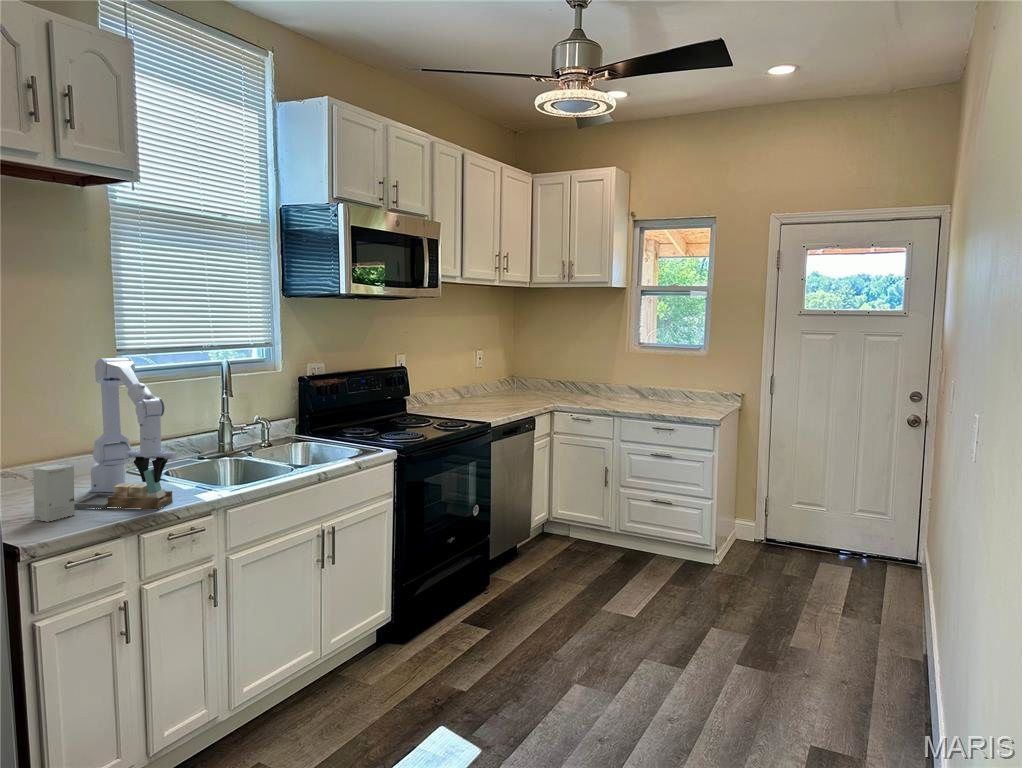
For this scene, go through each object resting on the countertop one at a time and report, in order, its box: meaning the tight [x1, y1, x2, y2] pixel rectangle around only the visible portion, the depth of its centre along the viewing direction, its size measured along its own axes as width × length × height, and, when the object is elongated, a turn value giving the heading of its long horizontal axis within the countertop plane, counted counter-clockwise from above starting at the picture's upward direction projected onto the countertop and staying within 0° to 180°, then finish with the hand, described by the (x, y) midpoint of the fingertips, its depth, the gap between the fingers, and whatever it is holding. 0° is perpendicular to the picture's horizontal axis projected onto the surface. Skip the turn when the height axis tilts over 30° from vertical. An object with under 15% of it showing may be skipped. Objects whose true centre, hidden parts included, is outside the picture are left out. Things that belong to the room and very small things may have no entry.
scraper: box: [144, 468, 166, 498], centre depth 211 cm, size 3×5×9 cm, turn 0°
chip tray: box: [74, 492, 114, 510], centre depth 211 cm, size 10×12×2 cm
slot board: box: [108, 490, 173, 510], centre depth 211 cm, size 15×9×4 cm, turn 90°
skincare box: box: [32, 463, 76, 523], centre depth 196 cm, size 8×6×15 cm
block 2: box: [129, 483, 149, 497], centre depth 211 cm, size 4×4×4 cm
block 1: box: [113, 483, 135, 497], centre depth 211 cm, size 4×4×4 cm
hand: (151, 481), depth 211 cm, fingers closed on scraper, 3 cm apart
